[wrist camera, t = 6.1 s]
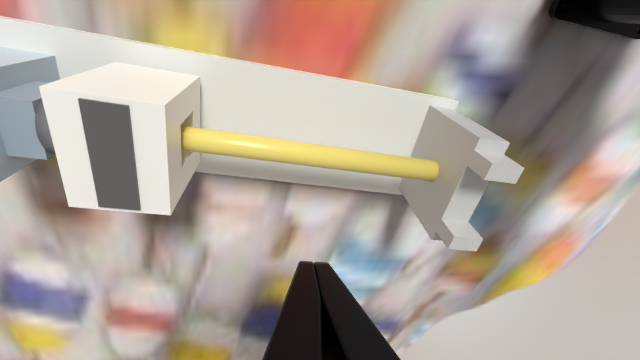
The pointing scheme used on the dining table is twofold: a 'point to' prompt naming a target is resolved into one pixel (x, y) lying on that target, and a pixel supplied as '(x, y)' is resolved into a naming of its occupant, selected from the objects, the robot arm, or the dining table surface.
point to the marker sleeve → (123, 136)
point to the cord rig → (274, 124)
